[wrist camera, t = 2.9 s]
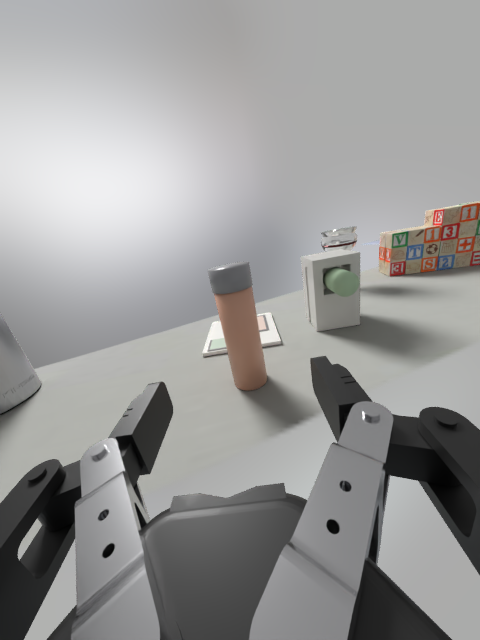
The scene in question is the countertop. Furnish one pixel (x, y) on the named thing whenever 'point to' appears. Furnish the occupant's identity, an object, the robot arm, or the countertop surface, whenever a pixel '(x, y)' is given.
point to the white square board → (217, 341)
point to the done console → (321, 301)
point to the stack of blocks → (434, 242)
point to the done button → (341, 281)
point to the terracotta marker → (239, 323)
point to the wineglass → (339, 239)
